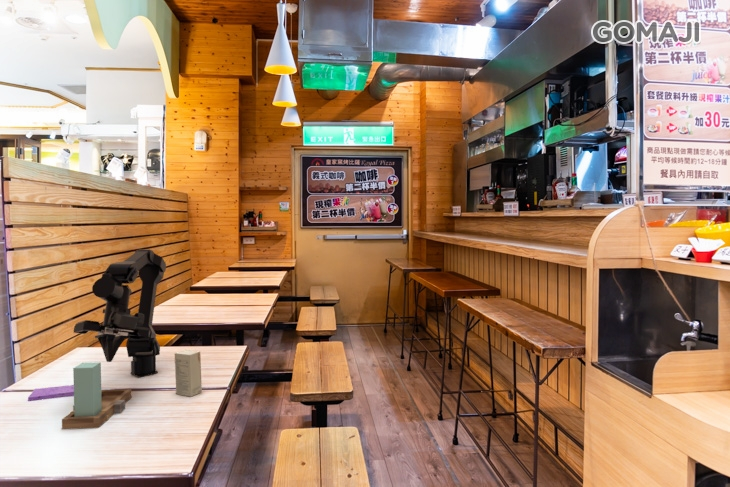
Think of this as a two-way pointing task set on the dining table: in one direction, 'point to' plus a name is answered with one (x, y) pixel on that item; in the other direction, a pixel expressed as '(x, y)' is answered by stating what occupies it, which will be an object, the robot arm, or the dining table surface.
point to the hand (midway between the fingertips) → (109, 361)
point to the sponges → (52, 392)
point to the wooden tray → (110, 405)
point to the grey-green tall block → (87, 389)
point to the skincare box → (188, 372)
